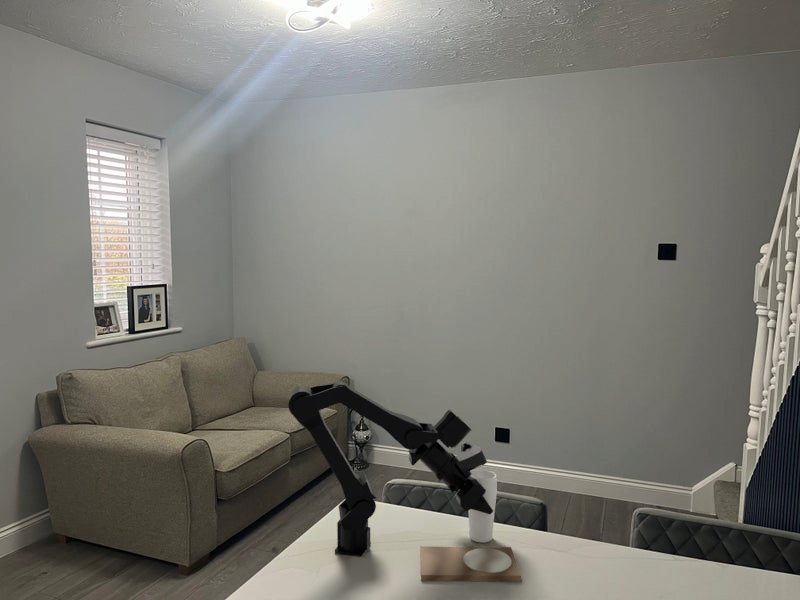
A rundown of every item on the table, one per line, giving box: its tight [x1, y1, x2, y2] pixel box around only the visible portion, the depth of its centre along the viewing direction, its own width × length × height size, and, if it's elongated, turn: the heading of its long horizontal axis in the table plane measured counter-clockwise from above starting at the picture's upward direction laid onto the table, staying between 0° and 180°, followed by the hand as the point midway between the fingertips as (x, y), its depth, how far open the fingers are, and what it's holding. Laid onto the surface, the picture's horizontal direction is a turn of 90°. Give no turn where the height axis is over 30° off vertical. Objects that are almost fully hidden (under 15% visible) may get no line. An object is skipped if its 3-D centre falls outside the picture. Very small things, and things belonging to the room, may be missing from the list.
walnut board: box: [419, 546, 522, 583], centre depth 125 cm, size 20×12×1 cm, turn 89°
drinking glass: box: [467, 469, 498, 544], centre depth 137 cm, size 7×7×15 cm
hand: (487, 506), depth 137 cm, fingers closed on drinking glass, 7 cm apart
